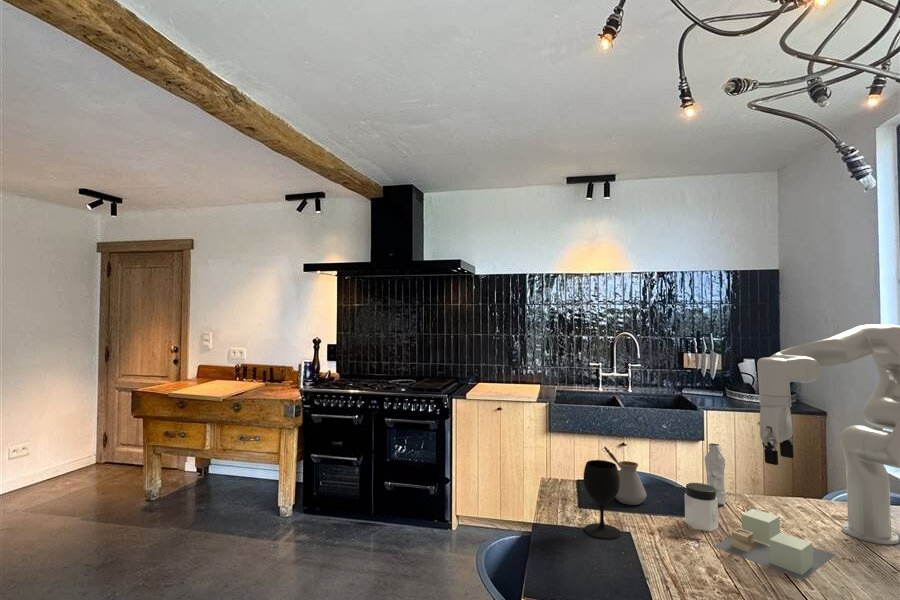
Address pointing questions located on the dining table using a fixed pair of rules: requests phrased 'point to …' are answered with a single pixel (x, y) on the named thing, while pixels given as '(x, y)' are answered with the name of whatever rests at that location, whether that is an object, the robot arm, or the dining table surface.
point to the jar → (701, 506)
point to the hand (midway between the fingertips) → (779, 460)
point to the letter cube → (742, 539)
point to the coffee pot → (629, 483)
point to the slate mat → (763, 556)
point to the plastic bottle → (716, 471)
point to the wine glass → (601, 494)
